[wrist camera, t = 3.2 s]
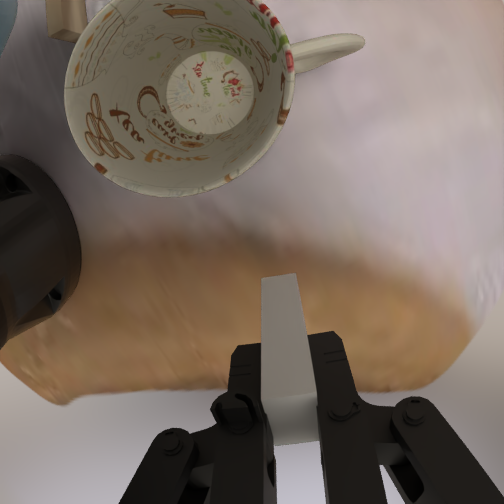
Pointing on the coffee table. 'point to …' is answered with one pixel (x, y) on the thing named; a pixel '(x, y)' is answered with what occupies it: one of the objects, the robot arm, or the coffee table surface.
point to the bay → (66, 19)
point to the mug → (185, 90)
